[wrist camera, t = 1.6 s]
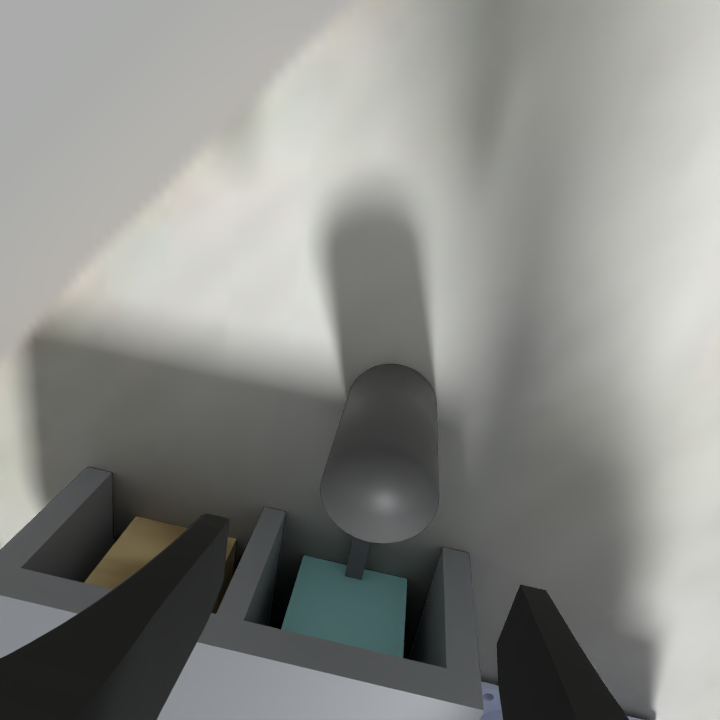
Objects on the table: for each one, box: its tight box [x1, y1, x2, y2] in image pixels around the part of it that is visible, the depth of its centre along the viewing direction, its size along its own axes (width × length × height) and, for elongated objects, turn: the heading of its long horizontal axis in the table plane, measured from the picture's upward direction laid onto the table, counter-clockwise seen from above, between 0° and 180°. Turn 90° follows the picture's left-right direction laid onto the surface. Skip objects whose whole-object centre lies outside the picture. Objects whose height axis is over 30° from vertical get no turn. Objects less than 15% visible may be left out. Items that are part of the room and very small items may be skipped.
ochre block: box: [84, 516, 236, 614], centre depth 24 cm, size 5×5×4 cm
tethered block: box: [281, 364, 439, 658], centre depth 21 cm, size 5×16×6 cm, turn 170°
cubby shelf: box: [0, 467, 484, 720], centre depth 23 cm, size 18×9×7 cm, turn 80°
